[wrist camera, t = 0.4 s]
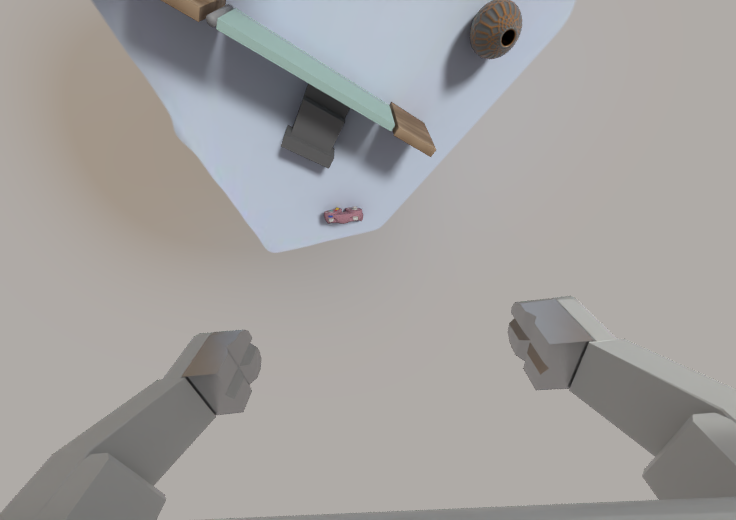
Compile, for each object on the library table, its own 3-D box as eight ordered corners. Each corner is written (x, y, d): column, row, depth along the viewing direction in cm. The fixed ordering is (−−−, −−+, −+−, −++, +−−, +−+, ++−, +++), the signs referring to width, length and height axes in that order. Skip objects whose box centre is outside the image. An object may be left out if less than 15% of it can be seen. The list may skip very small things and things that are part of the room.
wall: (133, -64, 34) (77, -67, 27) (424, 123, 54) (436, 149, 47) (133, -48, 35) (80, -47, 28) (419, 129, 55) (430, 157, 48)
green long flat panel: (224, 12, 38) (205, 23, 33) (226, 2, 38) (206, 11, 32) (386, 111, 50) (391, 131, 45) (389, 105, 49) (395, 125, 44)
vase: (465, 58, 46) (482, 74, 41) (464, 6, 41) (483, 16, 35) (507, 43, 45) (530, 57, 39) (511, -13, 40) (539, -6, 34)
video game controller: (362, 202, 70) (362, 208, 64) (363, 219, 72) (363, 226, 66) (324, 205, 70) (321, 211, 64) (327, 222, 72) (323, 229, 66)
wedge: (308, 63, 46) (306, 71, 43) (360, 94, 50) (361, 104, 47) (284, 135, 54) (280, 146, 52) (329, 157, 59) (328, 168, 56)
